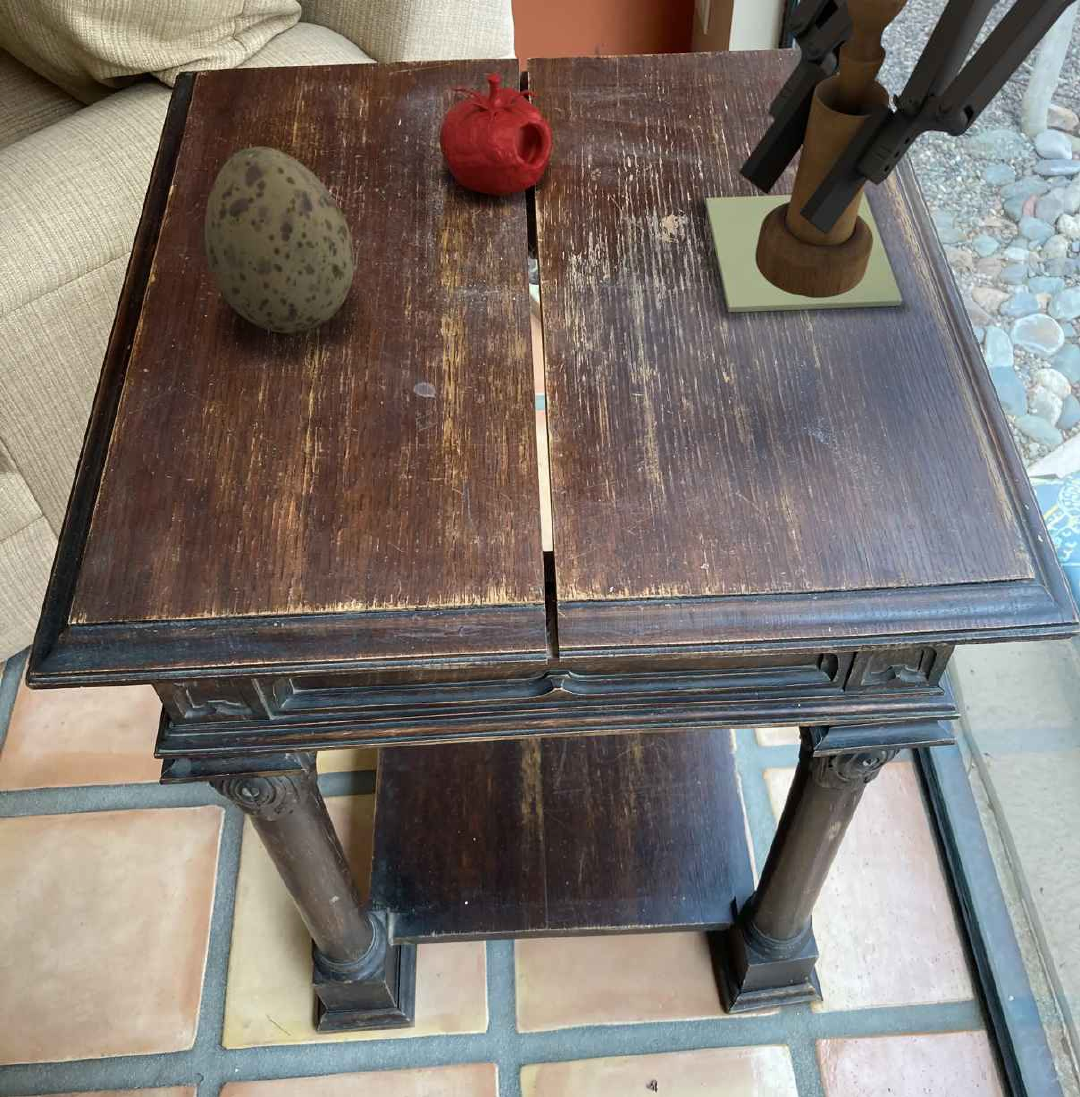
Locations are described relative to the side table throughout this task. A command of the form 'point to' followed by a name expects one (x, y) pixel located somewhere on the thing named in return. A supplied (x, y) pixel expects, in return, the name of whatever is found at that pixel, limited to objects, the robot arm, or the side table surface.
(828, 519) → the side table surface
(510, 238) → the side table surface
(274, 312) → the decorative egg
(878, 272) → the mat
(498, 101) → the red tomato
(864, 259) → the mortar and pestle
